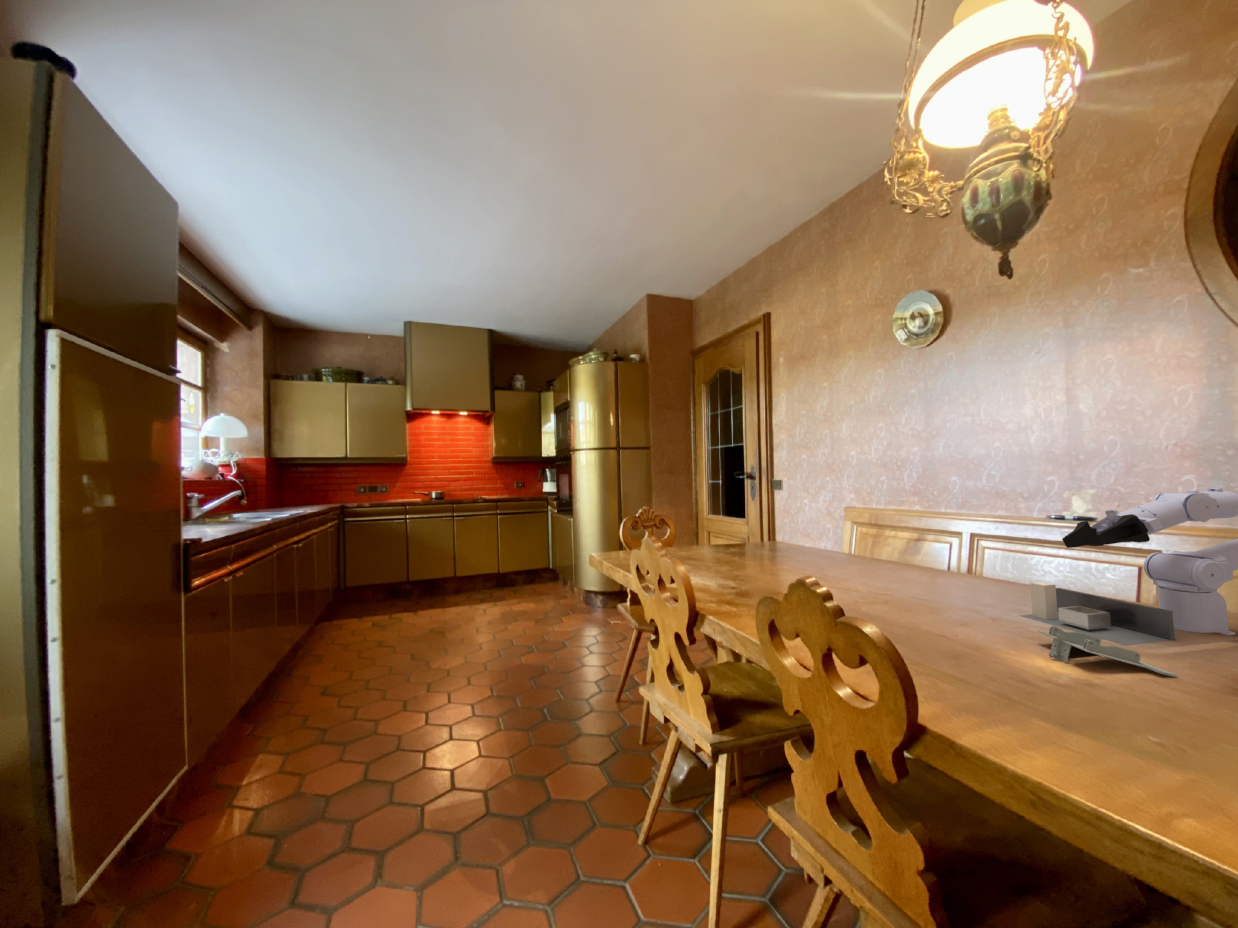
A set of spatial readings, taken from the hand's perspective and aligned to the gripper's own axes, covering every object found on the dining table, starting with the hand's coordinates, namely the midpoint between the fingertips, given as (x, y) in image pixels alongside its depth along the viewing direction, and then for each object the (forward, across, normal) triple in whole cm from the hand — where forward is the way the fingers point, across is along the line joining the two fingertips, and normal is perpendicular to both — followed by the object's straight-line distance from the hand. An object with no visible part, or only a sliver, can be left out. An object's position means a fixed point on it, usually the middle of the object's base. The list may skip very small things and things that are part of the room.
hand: (1082, 541), depth 96 cm
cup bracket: (+1, -7, +18) cm, 19 cm away
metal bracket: (+16, +7, +18) cm, 25 cm away
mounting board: (+2, -7, +18) cm, 20 cm away
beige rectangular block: (+5, -14, +15) cm, 21 cm away
